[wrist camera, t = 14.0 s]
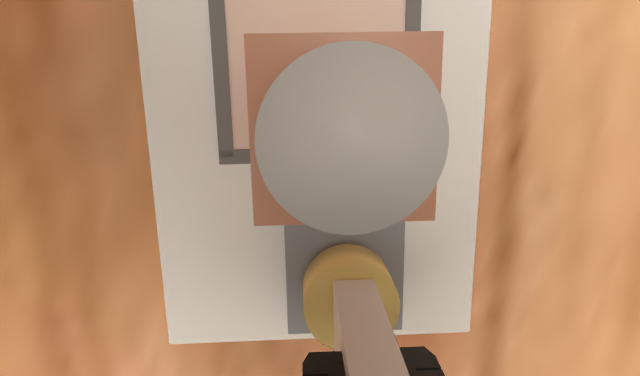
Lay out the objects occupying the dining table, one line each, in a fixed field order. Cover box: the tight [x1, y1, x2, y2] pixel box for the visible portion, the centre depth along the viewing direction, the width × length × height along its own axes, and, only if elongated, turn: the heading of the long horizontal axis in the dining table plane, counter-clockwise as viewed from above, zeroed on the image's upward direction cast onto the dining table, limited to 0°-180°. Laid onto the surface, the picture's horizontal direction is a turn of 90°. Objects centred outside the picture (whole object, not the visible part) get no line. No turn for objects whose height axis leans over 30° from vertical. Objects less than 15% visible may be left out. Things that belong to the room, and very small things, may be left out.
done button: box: [303, 244, 400, 349], centre depth 18 cm, size 4×4×2 cm
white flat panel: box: [133, 0, 492, 344], centre depth 18 cm, size 28×14×2 cm, turn 1°
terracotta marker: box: [244, 31, 449, 235], centre depth 13 cm, size 3×3×12 cm
